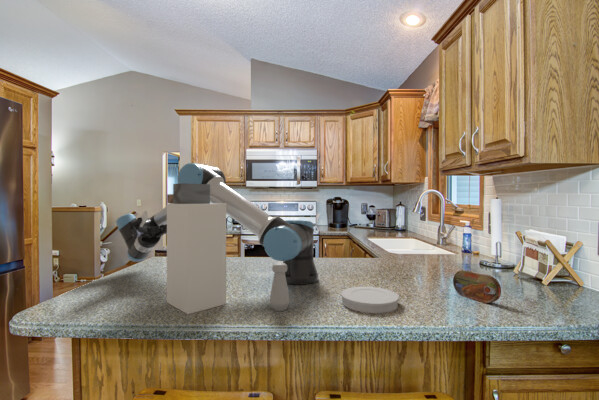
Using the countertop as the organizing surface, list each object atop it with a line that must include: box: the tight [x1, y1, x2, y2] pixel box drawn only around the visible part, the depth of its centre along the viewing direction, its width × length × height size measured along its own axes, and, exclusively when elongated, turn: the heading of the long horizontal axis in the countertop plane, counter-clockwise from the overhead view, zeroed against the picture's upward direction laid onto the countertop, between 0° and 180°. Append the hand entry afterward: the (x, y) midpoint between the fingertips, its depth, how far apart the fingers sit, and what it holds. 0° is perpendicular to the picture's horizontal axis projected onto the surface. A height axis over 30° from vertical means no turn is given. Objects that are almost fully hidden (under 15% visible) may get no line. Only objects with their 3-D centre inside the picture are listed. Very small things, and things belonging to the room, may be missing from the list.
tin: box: [452, 269, 502, 304], centre depth 99 cm, size 15×3×8 cm, turn 23°
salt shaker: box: [269, 262, 291, 312], centre depth 90 cm, size 6×6×13 cm
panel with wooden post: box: [166, 183, 211, 204], centre depth 101 cm, size 18×9×6 cm, turn 45°
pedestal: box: [166, 203, 227, 315], centre depth 94 cm, size 14×12×30 cm
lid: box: [340, 286, 400, 314], centre depth 96 cm, size 17×20×3 cm
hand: (166, 214), depth 110 cm, fingers open, 13 cm apart
